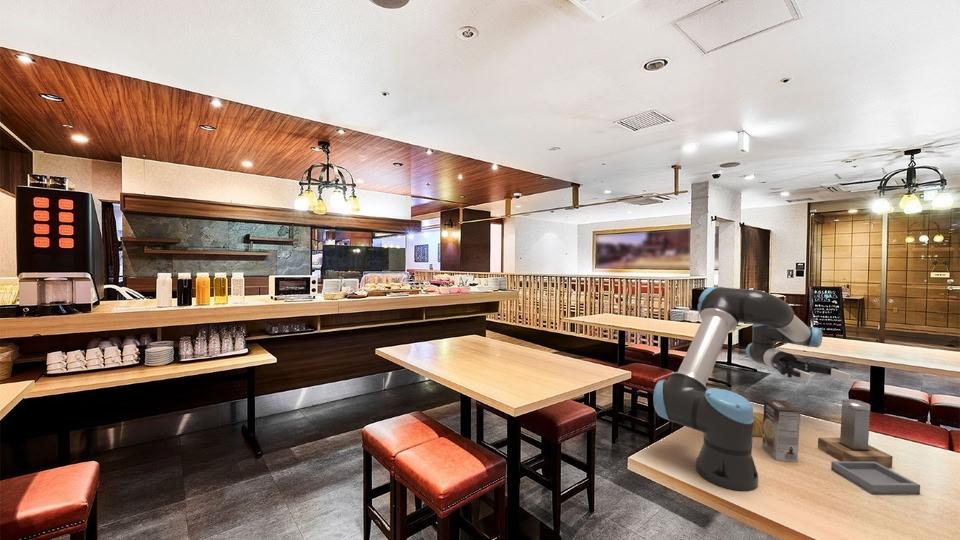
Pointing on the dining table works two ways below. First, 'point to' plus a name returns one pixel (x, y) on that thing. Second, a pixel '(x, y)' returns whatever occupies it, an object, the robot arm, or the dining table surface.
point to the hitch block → (853, 452)
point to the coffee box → (781, 430)
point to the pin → (855, 425)
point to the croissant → (758, 424)
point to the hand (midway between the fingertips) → (829, 378)
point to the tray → (875, 477)
